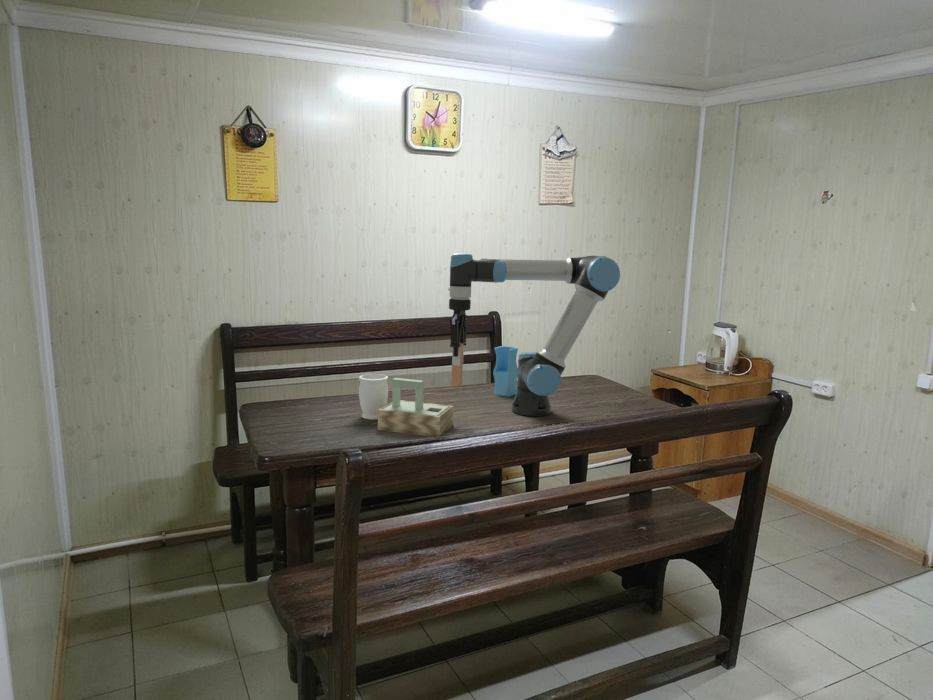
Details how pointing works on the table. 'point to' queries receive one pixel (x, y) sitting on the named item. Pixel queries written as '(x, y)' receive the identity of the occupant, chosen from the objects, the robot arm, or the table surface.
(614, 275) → the robot arm
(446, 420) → the wooden box
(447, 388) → the table surface
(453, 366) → the key peg
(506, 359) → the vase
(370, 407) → the jar
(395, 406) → the lid
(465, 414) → the table surface
